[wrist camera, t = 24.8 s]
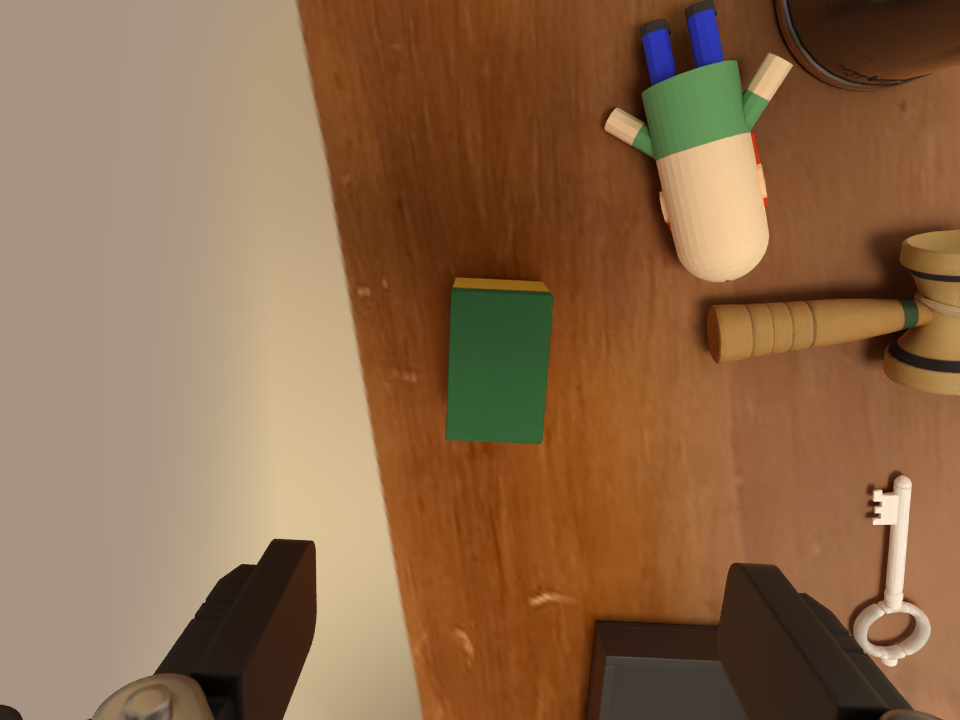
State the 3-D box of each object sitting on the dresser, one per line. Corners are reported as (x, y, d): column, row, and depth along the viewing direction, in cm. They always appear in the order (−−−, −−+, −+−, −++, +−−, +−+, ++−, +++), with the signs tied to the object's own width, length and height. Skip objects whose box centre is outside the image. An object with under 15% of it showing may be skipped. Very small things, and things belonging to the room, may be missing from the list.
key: (847, 660, 38) (920, 656, 37) (856, 671, 37) (930, 667, 37) (859, 475, 35) (937, 470, 35) (869, 482, 34) (949, 477, 34)
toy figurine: (600, 58, 32) (653, 289, 34) (573, 45, 28) (634, 306, 30) (778, -14, 28) (825, 253, 30) (775, -41, 24) (829, 267, 26)
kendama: (707, 404, 35) (1074, 368, 32) (732, 425, 29) (1192, 383, 26) (692, 266, 35) (1064, 216, 32) (715, 257, 28) (1181, 194, 25)
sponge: (455, 277, 32) (450, 290, 27) (542, 281, 32) (553, 295, 27) (450, 406, 34) (445, 440, 29) (533, 410, 34) (542, 444, 29)
